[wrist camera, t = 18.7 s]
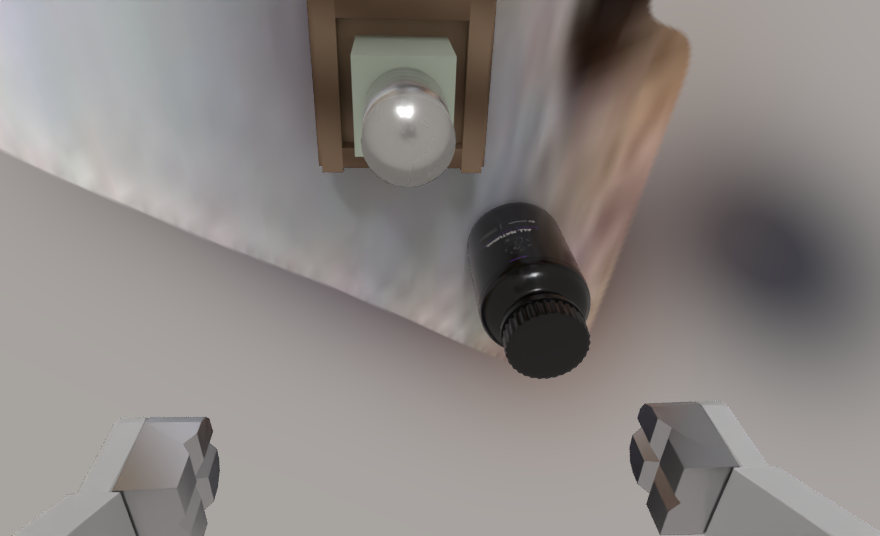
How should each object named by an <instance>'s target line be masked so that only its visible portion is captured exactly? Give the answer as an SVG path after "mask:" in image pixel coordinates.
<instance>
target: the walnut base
mask: <svg viewBox="0 0 880 536" xmlns="http://www.w3.org/2000/svg"><path fill="white" fill-rule="evenodd" d="M496 1H497V0H307V11H308V24H309V37H310V51H311V64H312V77H313V90H314V104H315V117H316V130H317V143H318V157H319V166H322V170H323V172H343V171H344V168H370V167H369V166H368V164H367V163H366V161H365V158H364V157H355V146H354V123H353V100H352V77H351V51H352V47H353V43H354V39H355V35H371V36H420V37H448V39H449V41H450V43H451V45H452V48H453V50H454V52H455V54H456V56H457V61H456V84H455V106H454V130H455V136H456V146H455V152H454V155H453V158H452V160H451V162H450V164H449V166H448V167H447V168H460V170H461V173H481V167H484V156H485V143H486V130H487V117H488V104H489V91H490V78H491V65H492V53H493V40H494V27H495V14H496Z"/></svg>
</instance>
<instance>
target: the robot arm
mask: <svg viewBox="0 0 880 536" xmlns="http://www.w3.org/2000/svg"><path fill="white" fill-rule="evenodd" d="M638 421H639V423H640V425H641V428H640V429H639V430H638V431H636V432H635V433H634V434H633V435H632V439H631V443H630V463H631V467H632V471H633V474H634V476H635V479H636V481H637V484H638V485H640V486H641V487H642V488H643V489H645V490H646V491H647V492H648V493H650V494H649V497H648V500H647V504H646V505H647V507H648V509H649V511H650V514H651V516H652V518H653V520H654V523H655V525H656V527H657V529H658V532H659V534H660V535H693V534H705V536H880V531H878V530H876V529H874V528H873V527H872V526H870V525H869V524H867V523H865V522H864V521H862V520H861V519H859V518H858V517H856V516H854V515H853V514H851V513H849V512H848V511H847V510H845V509H843V508H842V507H840V506H839V505H837V504H836V503H834V502H832V501H831V500H829V499H828V498H826V497H825V496H823V495H821V494H820V493H818V492H817V491H815V490H814V489H812V488H810V487H809V486H807V485H806V484H804V483H802V482H801V481H799V480H798V479H796V478H794V477H793V476H791V475H790V474H788V473H787V472H785V471H784V470H782V469H780V468H779V467H777V466H769V465H768V464H767V462H766V461H765V459H764V458H763V457H762V455H761V454H760V452H759V451H758V450H757V448H756V447H755V445H754V444H753V442H752V441H751V439H750V438H749V436H748V435H747V434H746V432H745V431H744V429H743V428H742V426H741V425H740V424H739V422H738V421H737V419H736V418H735V416H734V415H733V413H732V412H731V410H730V409H729V408H728V406H727V405H726V404H725V403H723V402H722V401H698V402H673V403H648V404H644V405H643V406H642V407H641V408H640V411H639V414H638ZM212 433H213V430H212V426H211V423H210V419H209V418H207V417H150V418H120V419H119V420H118V421H117V422H116V423H115V424H114V425H113V426H112V428H111V430H110V432H109V434H108V436H107V438H106V439H105V441H104V443H103V445H102V447H101V449H100V451H99V453H98V454H97V456H96V458H95V460H94V462H93V464H92V466H91V468H90V470H89V471H88V473H87V475H86V477H85V479H84V481H83V483H82V484H81V486H80V488H79V490H78V492H77V494H67V495H66V496H64V497H63V498H62V499H60V500H59V501H58V502H56V503H55V504H54V505H52V506H51V507H49V508H48V509H47V510H45V511H44V512H43V513H41V514H40V515H39V516H38V517H36V518H35V519H33V520H32V521H31V522H29V523H28V524H27V525H25V526H24V527H22V528H21V529H20V530H18V531H17V532H16V533H14V534H13V535H12V536H204V533H205V530H206V527H207V519H206V515H205V511H204V510H205V509H206V508H207V507H208V506H209V505H210V504H212V503H213V502H214V499H215V495H216V492H217V488H218V481H219V471H220V468H219V456H218V451H217V449H216V448H215V447H214V446H213V445H211V444H210V439H211V436H212Z"/></svg>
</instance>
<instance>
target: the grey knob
mask: <svg viewBox="0 0 880 536" xmlns="http://www.w3.org/2000/svg"><path fill="white" fill-rule="evenodd" d="M455 146H456V136H455V130H454V127H453V124H452V121H451V117H450V114H449V111H448V108H447V105H446V102H445V98H444V95H443V92H442V90H441V88H440V87H439V85H438V84H437V82H436V81H435V80H434V79H433V78H432V77H431V76H429V75H428V74H427V73H425V72H423V71H421V70H418V69H415V68H410V67H399V68H394V69H391V70H388V71H387V72H385V73H383V74H382V75H380V76H379V77H378V78H377V79H376V80H375V81H374V82H373V83H372V85H371V86H370V88H369V90H368V92H367V95H366V98H365V104H364V114H363V123H362V133H361V148H362V153H363V156H364V158H365V161H366V163H367V164H368V166H369V167H370V169H371V170H372V171H373V172H374V173H375V174H376V175H377V176H378V177H380V178H381V179H383V180H384V181H386V182H388V183H390V184H393V185H397V186H402V187H415V186H420V185H423V184H427V183H429V182H431V181H433V180H434V179H436V178H437V177H438V176H440V175H441V174H442V173H443V172H444V171H445V170H446V168H447V167H448V166H449V164H450V162H451V160H452V158H453V155H454V152H455Z"/></svg>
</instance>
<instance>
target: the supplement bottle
mask: <svg viewBox="0 0 880 536" xmlns="http://www.w3.org/2000/svg"><path fill="white" fill-rule="evenodd" d="M468 258H469V264H470V269H471V275H472V280H473V285H474V290H475V295H476V300H477V305H478V310H479V315H480V319H481V322H482V325H483V327H484V329H485V331H486V333H487V334H488V335H489V337H490V338H491V339H492V340H493V341H494V342H496V343H497V344H498V345H500V346H501V347H503V348H504V350H505V354H506V357H507V358H508V362H509V363H510V364H511V365H512V367H513V368H514V369H516V370H517V371H518V372H519V373H522V374H523V375H524V376H529V377H531V378H538V379H541V378H546V379H548V378H551V377H557V376H559V375H563V374H565V373H566V372H570V371H571V370H572V369H573V368H575V367H577V366H578V364H579V363H581V362H582V360H583V358H584V357H585V356H586V353H587V351H588V350H589V345H590V340H589V338H590V334H589V332H588V328H587V326H586V320H587V317H588V314H589V310H590V293H589V289H588V287H587V284H586V281H585V279H584V277H583V275H582V273H581V271H580V269H579V267H578V265H577V263H576V261H575V259H574V257H573V255H572V253H571V251H570V249H569V247H568V245H567V243H566V241H565V239H564V236H563V234H562V232H561V231H560V229H559V227H558V225H557V223H556V222H555V220H554V219H553V218H552V217H551V215H550V214H548V213H547V212H546V211H545V210H543V209H541V208H539V207H537V206H535V205H532V204H527V203H509V204H504V205H501V206H498V207H496V208H494V209H492V210H490V211H489V212H487V213H486V214H485V215H483V216H482V217H481V218H480V219H479V220H478V222H477V223H476V224H475V226H474V227H473V229H472V231H471V233H470V236H469V239H468Z"/></svg>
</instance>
